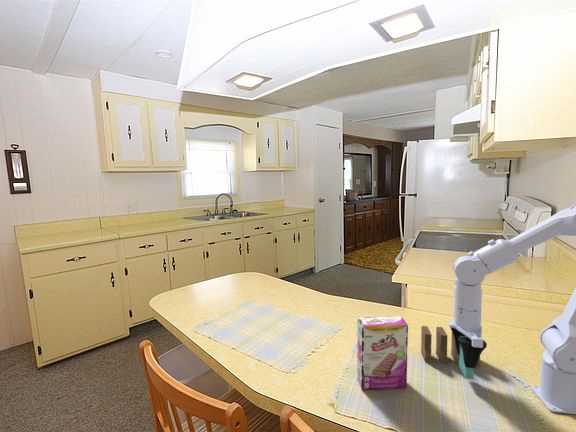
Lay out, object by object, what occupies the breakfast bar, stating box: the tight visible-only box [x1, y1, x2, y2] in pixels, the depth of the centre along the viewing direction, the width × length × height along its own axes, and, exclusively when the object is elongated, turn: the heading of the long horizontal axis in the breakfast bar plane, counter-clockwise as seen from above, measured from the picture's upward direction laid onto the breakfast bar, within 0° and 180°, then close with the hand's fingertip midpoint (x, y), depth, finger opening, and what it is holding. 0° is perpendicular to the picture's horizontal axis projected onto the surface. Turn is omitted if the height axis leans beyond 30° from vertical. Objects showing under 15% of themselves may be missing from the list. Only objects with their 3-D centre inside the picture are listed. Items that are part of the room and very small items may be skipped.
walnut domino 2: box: [435, 326, 448, 365], centre depth 87 cm, size 2×5×8 cm, turn 168°
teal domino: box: [458, 336, 474, 379], centre depth 76 cm, size 2×5×8 cm, turn 168°
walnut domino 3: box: [450, 332, 459, 366], centre depth 86 cm, size 2×5×8 cm, turn 168°
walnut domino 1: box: [420, 325, 433, 363], centre depth 88 cm, size 2×5×8 cm, turn 167°
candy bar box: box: [356, 315, 409, 391], centre depth 77 cm, size 11×5×16 cm, turn 92°
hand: (466, 360), depth 76 cm, fingers closed on teal domino, 5 cm apart
